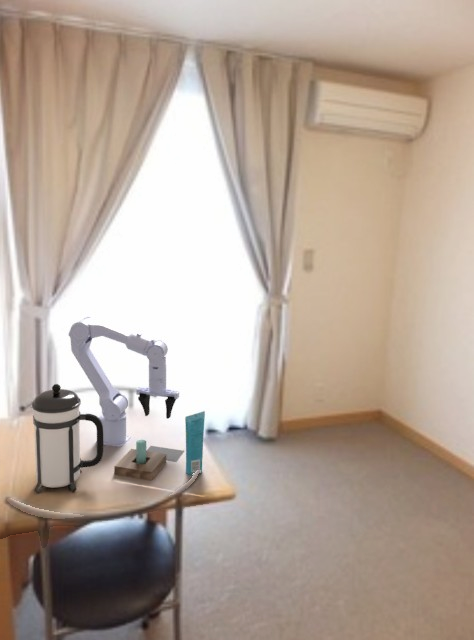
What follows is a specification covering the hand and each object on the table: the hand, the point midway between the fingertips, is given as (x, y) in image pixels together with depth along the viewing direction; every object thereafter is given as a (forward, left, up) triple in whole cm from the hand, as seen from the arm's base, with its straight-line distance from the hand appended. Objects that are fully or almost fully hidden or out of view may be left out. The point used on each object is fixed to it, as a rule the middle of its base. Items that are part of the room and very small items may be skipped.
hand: (157, 416), depth 171 cm
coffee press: (-17, -31, -11) cm, 37 cm away
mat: (+4, -6, -10) cm, 13 cm away
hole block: (+1, -17, -10) cm, 20 cm away
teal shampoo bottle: (+17, -14, -11) cm, 25 cm away
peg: (+1, -17, -10) cm, 20 cm away
